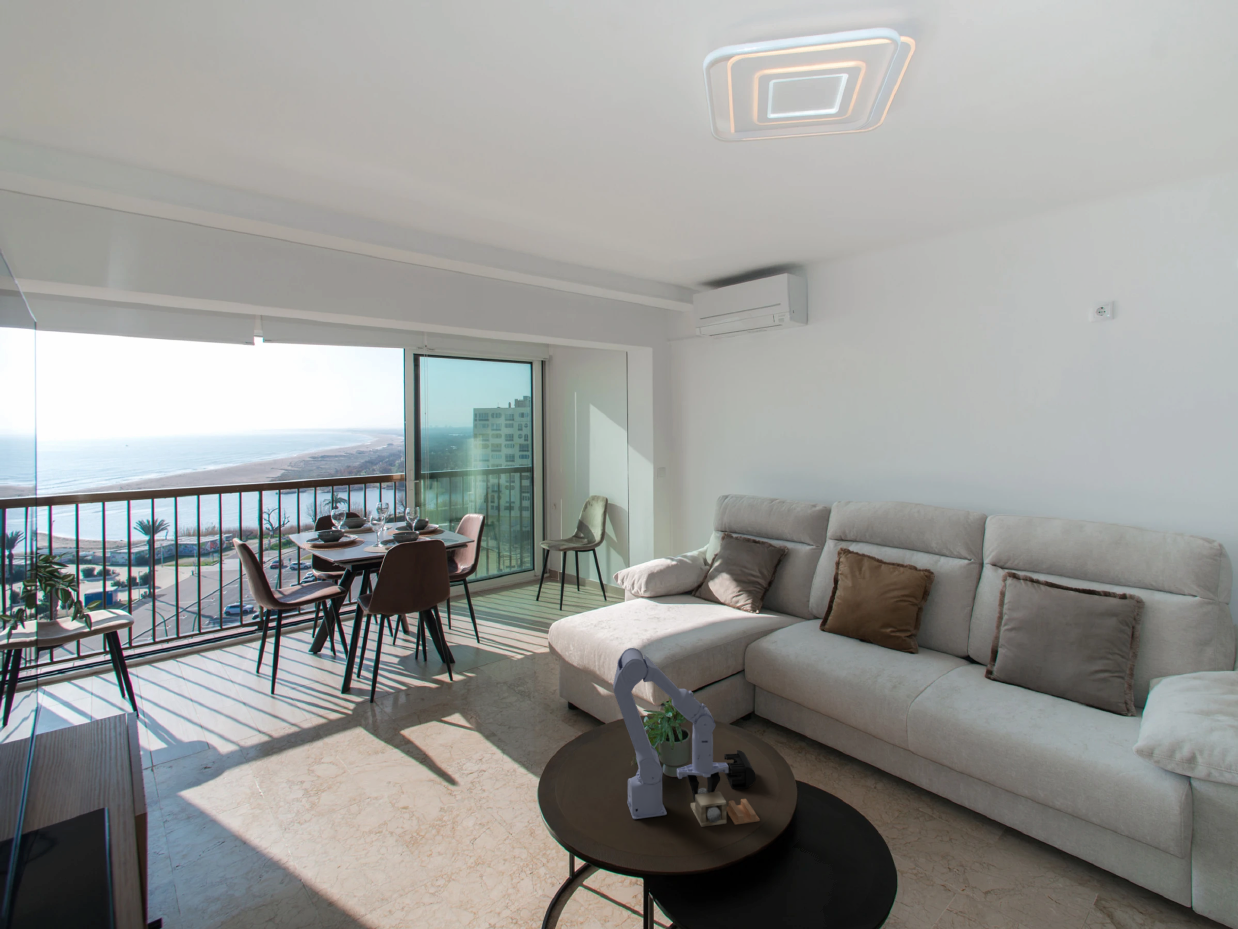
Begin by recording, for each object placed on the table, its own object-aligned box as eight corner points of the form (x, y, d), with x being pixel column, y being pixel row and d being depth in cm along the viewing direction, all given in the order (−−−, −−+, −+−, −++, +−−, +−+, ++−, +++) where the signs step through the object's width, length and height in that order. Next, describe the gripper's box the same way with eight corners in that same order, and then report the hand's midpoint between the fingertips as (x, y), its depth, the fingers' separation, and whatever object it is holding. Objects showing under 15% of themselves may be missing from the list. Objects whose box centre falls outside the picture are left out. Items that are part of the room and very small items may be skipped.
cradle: (734, 824, 158) (734, 816, 158) (725, 809, 165) (725, 801, 165) (759, 821, 160) (759, 813, 160) (748, 805, 166) (748, 798, 166)
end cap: (756, 789, 174) (756, 766, 174) (732, 790, 174) (732, 767, 174) (746, 771, 184) (746, 749, 184) (724, 772, 184) (723, 750, 184)
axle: (721, 821, 158) (721, 808, 158) (708, 823, 157) (708, 810, 157) (708, 799, 168) (708, 787, 168) (695, 801, 167) (695, 788, 167)
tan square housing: (701, 826, 158) (701, 805, 157) (690, 806, 166) (690, 786, 166) (726, 823, 159) (726, 802, 159) (714, 803, 168) (714, 783, 168)
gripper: (681, 762, 161) (682, 811, 161) (732, 756, 164) (732, 804, 164) (674, 749, 168) (674, 796, 168) (723, 743, 171) (723, 790, 171)
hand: (702, 799), depth 167 cm, fingers closed on axle, 4 cm apart
